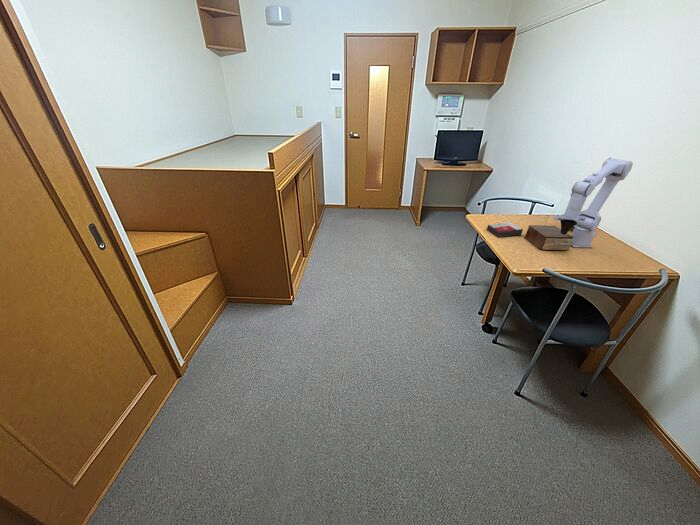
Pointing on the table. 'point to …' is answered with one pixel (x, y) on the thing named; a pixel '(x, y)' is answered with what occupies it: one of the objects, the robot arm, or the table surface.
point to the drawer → (557, 244)
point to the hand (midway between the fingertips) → (563, 233)
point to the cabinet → (543, 234)
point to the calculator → (504, 229)
